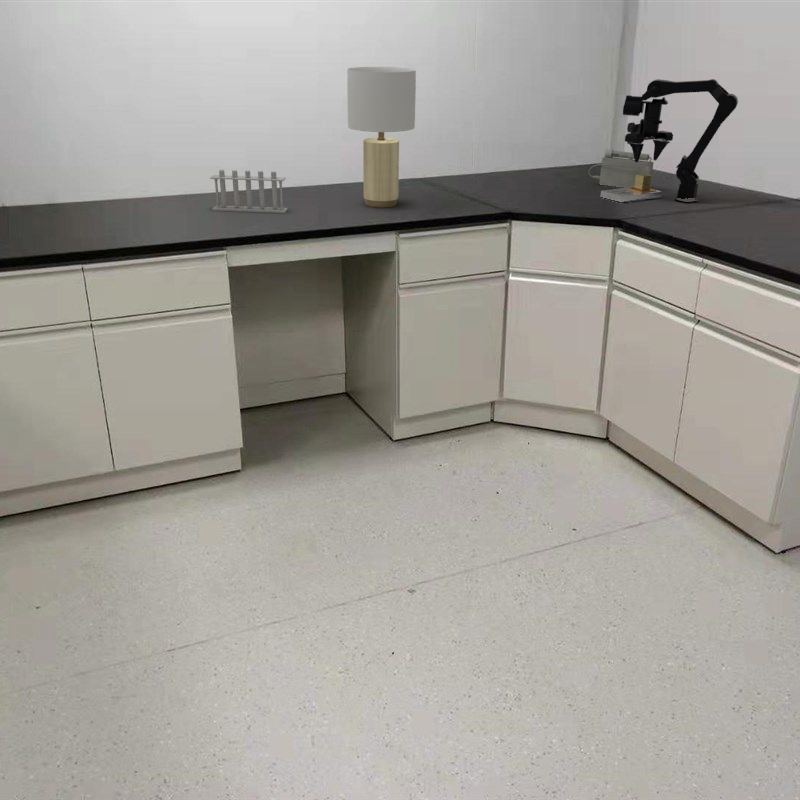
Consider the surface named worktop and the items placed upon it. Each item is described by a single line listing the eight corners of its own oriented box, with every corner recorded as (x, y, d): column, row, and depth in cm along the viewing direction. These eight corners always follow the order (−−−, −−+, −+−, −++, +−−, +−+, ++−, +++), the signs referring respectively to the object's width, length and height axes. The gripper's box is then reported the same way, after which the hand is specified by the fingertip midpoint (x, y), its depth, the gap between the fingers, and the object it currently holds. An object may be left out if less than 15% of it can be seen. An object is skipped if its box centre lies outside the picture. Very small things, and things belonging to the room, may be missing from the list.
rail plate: (640, 192, 318) (641, 185, 317) (661, 198, 309) (662, 190, 308) (600, 197, 309) (601, 189, 308) (620, 203, 301) (621, 195, 299)
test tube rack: (212, 210, 282) (209, 170, 276) (216, 207, 286) (212, 168, 280) (284, 213, 280) (282, 173, 274) (287, 210, 284) (285, 170, 278)
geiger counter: (656, 153, 317) (594, 146, 329) (651, 155, 312) (588, 148, 324) (651, 190, 323) (589, 182, 335) (646, 192, 318) (584, 184, 330)
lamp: (420, 200, 301) (424, 68, 281) (401, 214, 281) (404, 73, 262) (361, 195, 307) (361, 65, 287) (339, 208, 287) (336, 70, 268)
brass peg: (640, 195, 314) (643, 173, 310) (648, 197, 311) (651, 175, 307) (633, 196, 312) (635, 174, 309) (640, 198, 309) (643, 176, 306)
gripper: (654, 113, 309) (648, 156, 316) (617, 115, 301) (611, 159, 308) (677, 116, 301) (670, 160, 308) (638, 119, 292) (632, 164, 299)
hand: (645, 161), depth 306 cm, fingers open, 9 cm apart
